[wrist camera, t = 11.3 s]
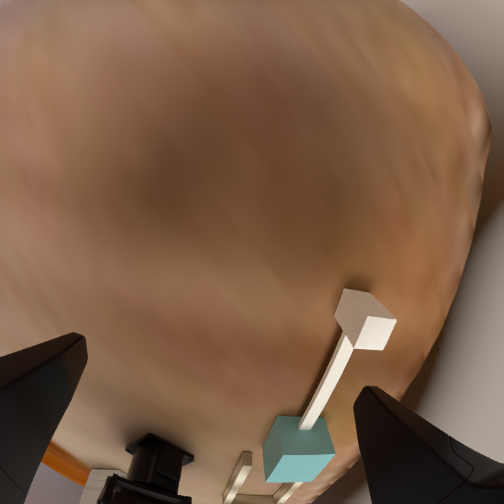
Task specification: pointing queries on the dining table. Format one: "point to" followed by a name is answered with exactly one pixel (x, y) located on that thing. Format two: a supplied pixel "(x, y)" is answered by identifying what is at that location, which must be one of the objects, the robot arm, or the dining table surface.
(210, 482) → the dining table surface
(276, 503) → the beige u-shaped frame
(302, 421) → the teal and white dumbbell
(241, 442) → the dining table surface
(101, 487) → the supplement box
